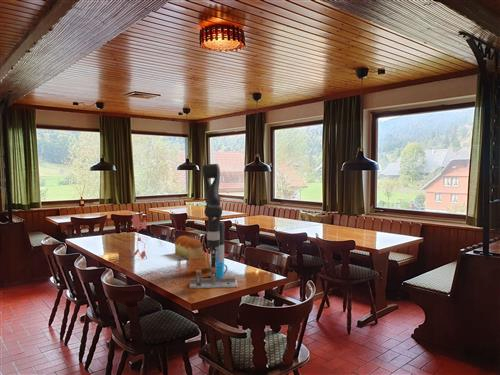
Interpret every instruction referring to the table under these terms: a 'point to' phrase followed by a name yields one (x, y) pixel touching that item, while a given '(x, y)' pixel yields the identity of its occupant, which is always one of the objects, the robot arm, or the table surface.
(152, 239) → the table surface
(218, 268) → the mug
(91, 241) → the table surface
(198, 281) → the pitch gauge
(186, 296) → the table surface
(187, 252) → the bread
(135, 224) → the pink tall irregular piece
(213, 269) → the sliding leg
